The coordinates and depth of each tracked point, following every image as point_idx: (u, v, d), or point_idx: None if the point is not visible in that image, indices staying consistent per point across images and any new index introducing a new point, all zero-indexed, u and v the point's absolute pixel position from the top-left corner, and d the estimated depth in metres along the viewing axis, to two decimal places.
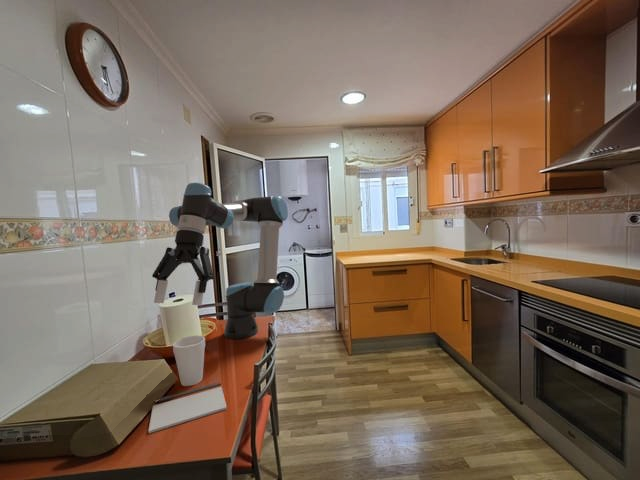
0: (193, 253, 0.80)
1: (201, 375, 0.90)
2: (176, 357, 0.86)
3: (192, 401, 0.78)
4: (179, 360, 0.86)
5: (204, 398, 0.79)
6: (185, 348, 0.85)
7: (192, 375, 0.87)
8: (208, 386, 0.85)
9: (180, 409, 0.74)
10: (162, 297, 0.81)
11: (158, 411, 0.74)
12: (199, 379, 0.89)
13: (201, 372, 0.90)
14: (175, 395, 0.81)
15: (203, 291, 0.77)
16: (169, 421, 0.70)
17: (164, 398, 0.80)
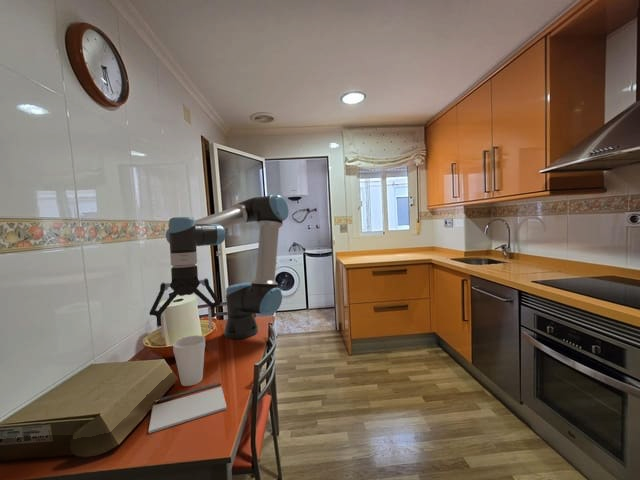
0: (197, 286, 0.89)
1: (201, 375, 0.90)
2: (176, 357, 0.86)
3: (192, 401, 0.78)
4: (179, 360, 0.86)
5: (204, 398, 0.79)
6: (185, 348, 0.85)
7: (192, 375, 0.87)
8: (208, 386, 0.85)
9: (180, 409, 0.74)
10: None
11: (158, 411, 0.74)
12: (199, 379, 0.89)
13: (201, 372, 0.90)
14: (175, 395, 0.81)
15: (214, 315, 0.92)
16: (169, 421, 0.70)
17: (164, 398, 0.80)
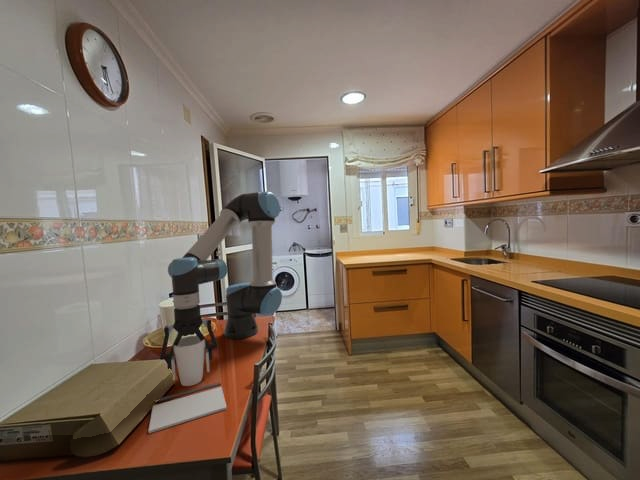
0: (199, 326, 0.90)
1: (201, 375, 0.90)
2: (176, 357, 0.86)
3: (192, 401, 0.78)
4: (179, 360, 0.86)
5: (204, 398, 0.79)
6: (185, 348, 0.85)
7: (192, 375, 0.87)
8: (208, 386, 0.85)
9: (180, 409, 0.74)
10: None
11: (158, 411, 0.74)
12: (199, 379, 0.89)
13: (201, 372, 0.90)
14: (175, 395, 0.81)
15: (212, 358, 0.93)
16: (169, 421, 0.70)
17: (164, 398, 0.80)
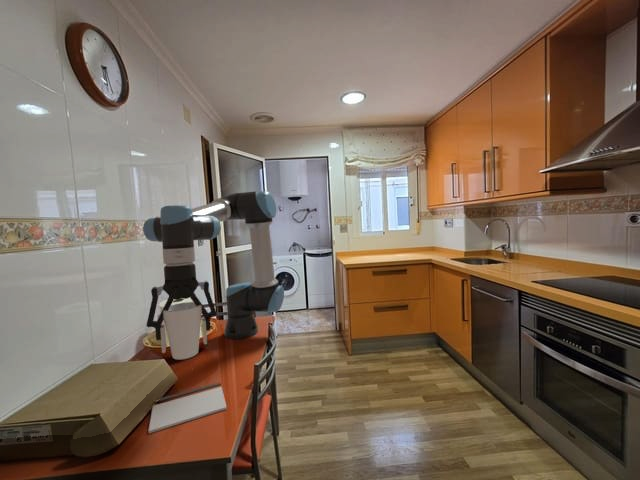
0: (194, 288, 0.75)
1: (197, 347, 0.75)
2: (166, 324, 0.71)
3: (192, 401, 0.78)
4: (170, 328, 0.71)
5: (204, 398, 0.79)
6: (177, 313, 0.70)
7: (186, 346, 0.72)
8: (208, 386, 0.85)
9: (180, 409, 0.74)
10: (165, 343, 0.73)
11: (158, 411, 0.74)
12: (194, 352, 0.74)
13: (197, 344, 0.75)
14: (175, 395, 0.81)
15: None
16: (169, 421, 0.70)
17: (164, 398, 0.80)
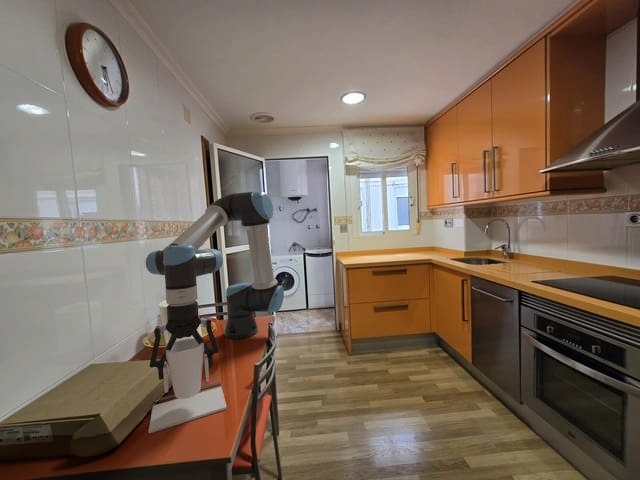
0: (196, 326, 0.75)
1: (199, 385, 0.75)
2: (169, 364, 0.72)
3: (192, 401, 0.78)
4: (172, 368, 0.71)
5: (204, 398, 0.79)
6: (180, 354, 0.70)
7: (188, 385, 0.72)
8: (208, 386, 0.85)
9: (180, 409, 0.74)
10: None
11: (158, 411, 0.74)
12: (197, 390, 0.74)
13: (199, 382, 0.75)
14: None
15: None
16: (169, 421, 0.70)
17: (164, 398, 0.80)
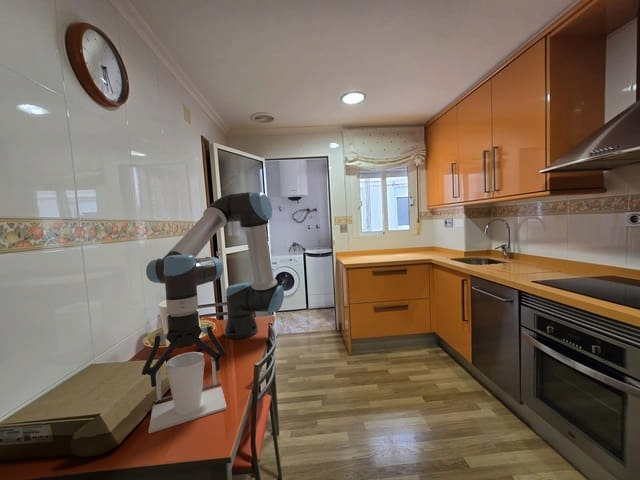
0: (198, 335, 0.75)
1: (200, 400, 0.75)
2: (170, 380, 0.72)
3: None
4: (173, 383, 0.71)
5: (204, 398, 0.79)
6: (180, 370, 0.70)
7: (189, 400, 0.72)
8: (208, 386, 0.85)
9: None
10: (160, 389, 0.73)
11: (158, 411, 0.74)
12: (197, 405, 0.74)
13: (200, 397, 0.75)
14: None
15: None
16: (169, 421, 0.70)
17: (164, 398, 0.80)
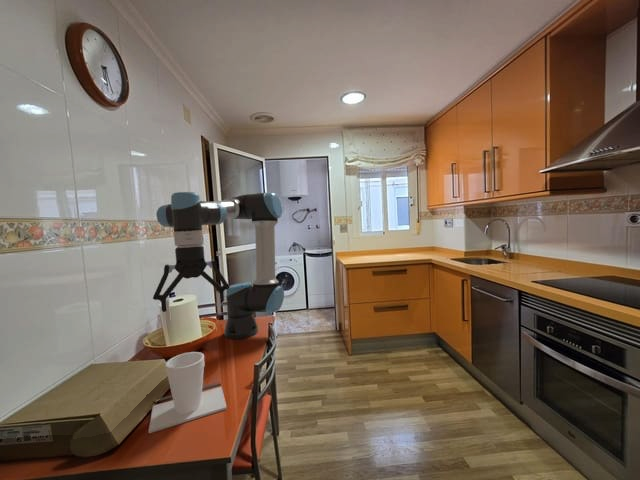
0: (204, 268, 0.82)
1: (200, 400, 0.75)
2: (170, 380, 0.72)
3: None
4: (173, 383, 0.71)
5: (204, 398, 0.79)
6: (180, 370, 0.70)
7: (189, 400, 0.72)
8: (208, 386, 0.85)
9: None
10: (170, 315, 0.80)
11: (158, 411, 0.74)
12: (197, 405, 0.74)
13: (200, 396, 0.75)
14: None
15: None
16: (169, 421, 0.70)
17: (164, 398, 0.80)
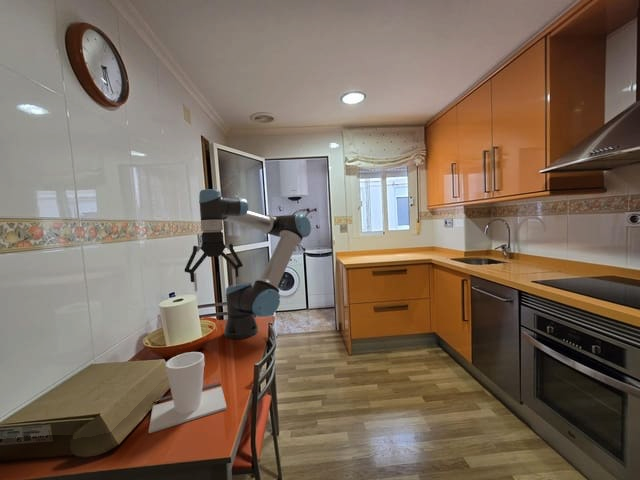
0: (223, 249, 1.04)
1: (200, 400, 0.75)
2: (170, 380, 0.72)
3: None
4: (173, 383, 0.71)
5: (204, 398, 0.79)
6: (180, 370, 0.70)
7: (189, 400, 0.72)
8: (208, 386, 0.85)
9: None
10: None
11: (158, 411, 0.74)
12: (197, 405, 0.74)
13: (200, 396, 0.75)
14: None
15: None
16: (169, 421, 0.70)
17: (164, 398, 0.80)
